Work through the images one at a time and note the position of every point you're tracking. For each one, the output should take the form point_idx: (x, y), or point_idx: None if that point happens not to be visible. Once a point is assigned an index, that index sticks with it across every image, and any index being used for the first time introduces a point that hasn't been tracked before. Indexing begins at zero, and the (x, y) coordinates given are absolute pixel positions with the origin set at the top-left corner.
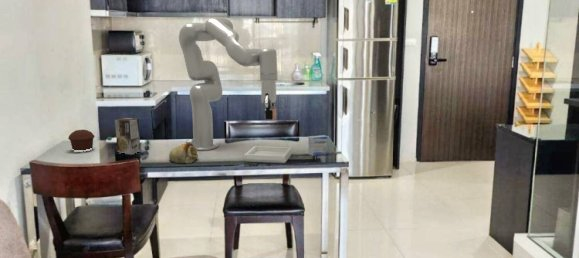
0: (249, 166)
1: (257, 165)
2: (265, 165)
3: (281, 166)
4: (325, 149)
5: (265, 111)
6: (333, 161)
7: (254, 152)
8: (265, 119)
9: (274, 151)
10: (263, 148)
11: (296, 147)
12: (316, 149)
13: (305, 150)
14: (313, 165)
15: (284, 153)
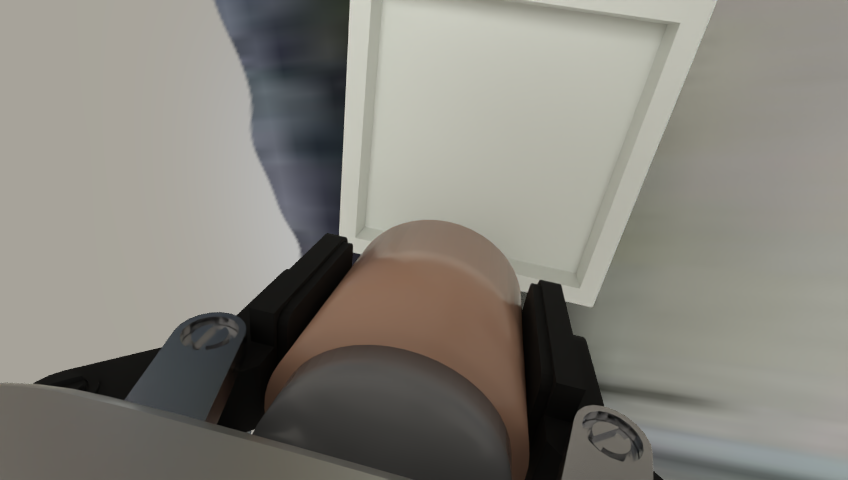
0: (248, 24)
1: (280, 76)
2: (289, 126)
3: (285, 213)
4: None
5: (264, 303)
6: None
7: (600, 14)
8: (397, 226)
9: (610, 180)
10: (649, 95)
11: (798, 326)
12: None
13: (676, 362)
14: None
15: None
